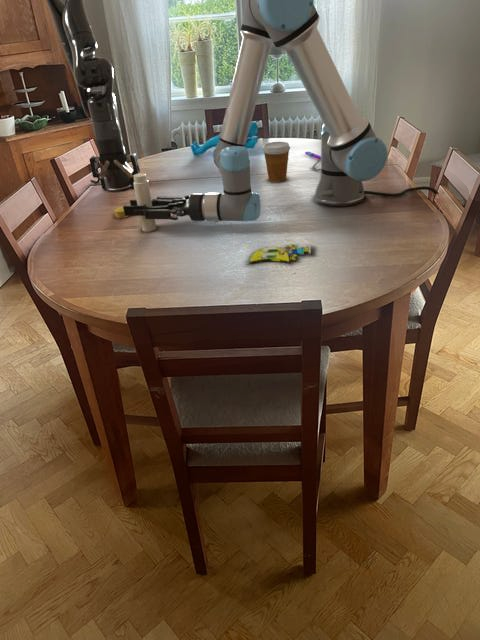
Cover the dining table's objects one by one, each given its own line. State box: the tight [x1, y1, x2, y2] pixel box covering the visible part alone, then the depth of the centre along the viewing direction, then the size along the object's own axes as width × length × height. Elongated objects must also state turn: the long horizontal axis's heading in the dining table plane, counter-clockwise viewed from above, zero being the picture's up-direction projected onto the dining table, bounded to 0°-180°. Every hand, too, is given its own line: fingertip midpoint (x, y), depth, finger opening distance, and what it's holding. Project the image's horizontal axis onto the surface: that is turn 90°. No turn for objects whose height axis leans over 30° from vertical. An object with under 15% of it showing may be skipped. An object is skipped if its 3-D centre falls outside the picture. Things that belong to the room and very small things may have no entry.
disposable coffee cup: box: [262, 141, 291, 183], centre depth 169 cm, size 10×10×12 cm
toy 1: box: [190, 121, 260, 157], centre depth 206 cm, size 17×11×30 cm
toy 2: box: [248, 244, 312, 265], centre depth 120 cm, size 10×1×15 cm
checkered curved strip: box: [304, 151, 321, 171], centre depth 185 cm, size 24×2×20 cm
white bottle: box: [133, 172, 157, 233], centre depth 137 cm, size 4×4×16 cm
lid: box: [113, 205, 129, 219], centre depth 153 cm, size 5×5×2 cm
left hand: (120, 189), depth 150 cm, fingers open, 8 cm apart
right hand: (128, 207), depth 139 cm, fingers closed on white bottle, 4 cm apart
